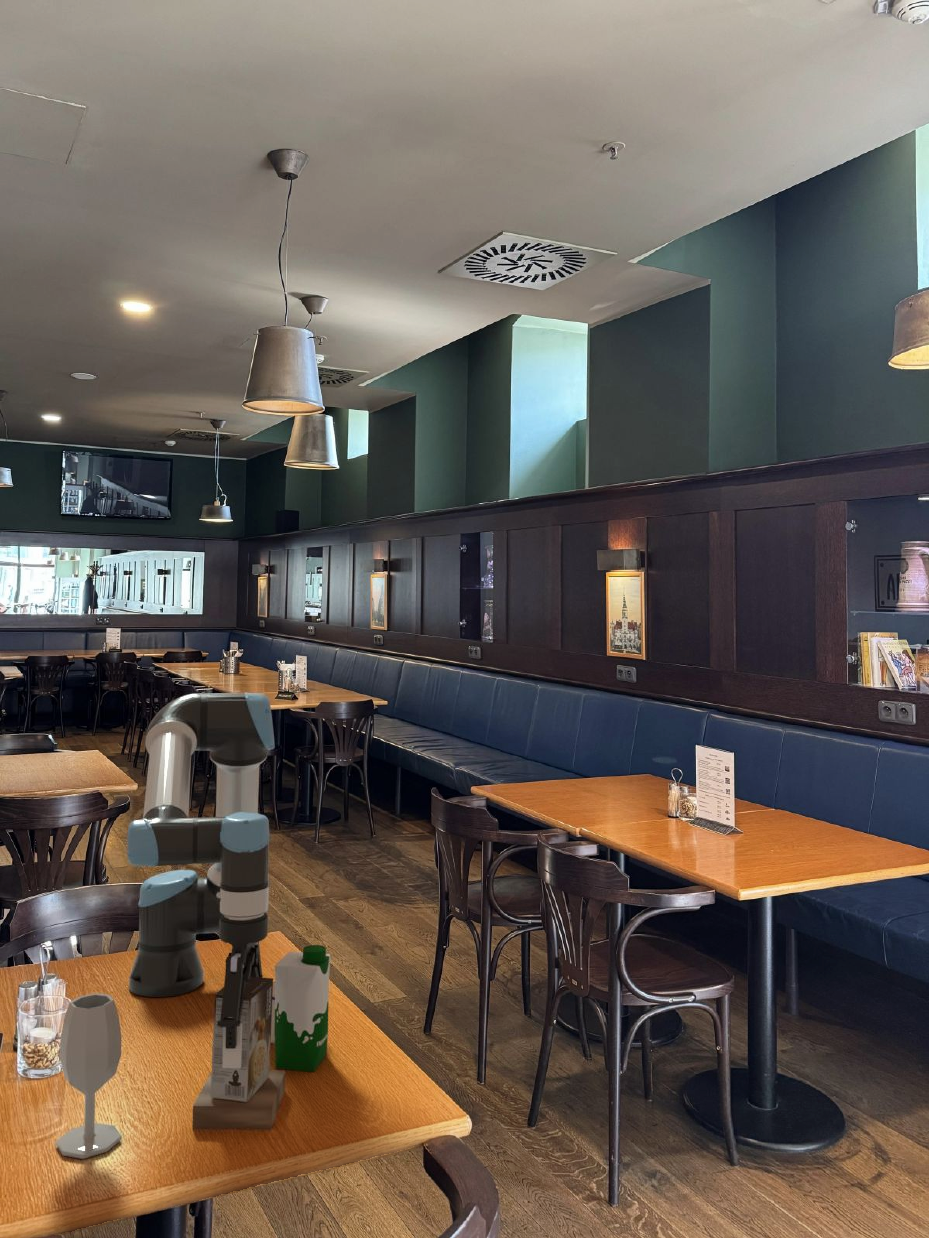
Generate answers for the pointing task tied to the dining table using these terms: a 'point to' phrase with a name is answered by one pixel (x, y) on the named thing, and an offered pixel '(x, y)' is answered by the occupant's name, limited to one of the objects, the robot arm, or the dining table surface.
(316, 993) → the milk carton
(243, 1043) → the coffee box
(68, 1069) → the wineglass
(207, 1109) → the brown flat block
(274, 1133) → the dining table surface
